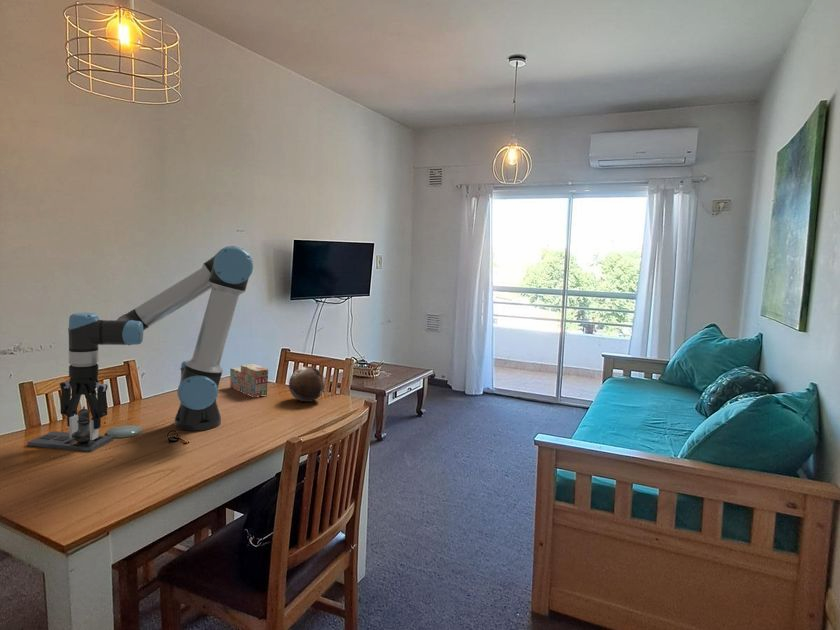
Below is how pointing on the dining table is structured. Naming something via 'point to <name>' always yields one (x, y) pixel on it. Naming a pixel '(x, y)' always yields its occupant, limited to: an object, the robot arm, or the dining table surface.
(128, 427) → the coaster
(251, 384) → the stack of blocks
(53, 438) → the grey compartment tray
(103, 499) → the dining table surface
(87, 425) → the dark grey chess piece
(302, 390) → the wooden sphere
